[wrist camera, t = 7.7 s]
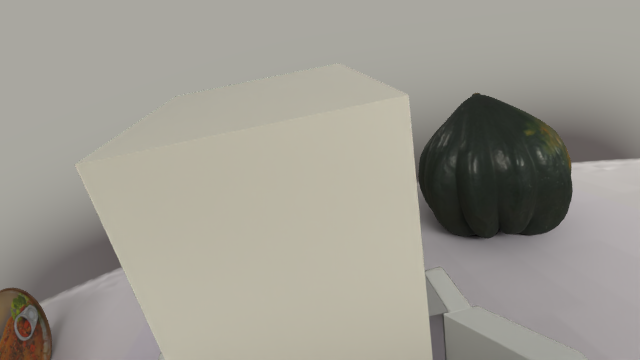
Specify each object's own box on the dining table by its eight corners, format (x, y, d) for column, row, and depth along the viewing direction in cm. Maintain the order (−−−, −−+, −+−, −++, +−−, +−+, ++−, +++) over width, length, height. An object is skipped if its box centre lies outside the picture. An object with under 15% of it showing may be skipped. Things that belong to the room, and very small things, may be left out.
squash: (574, 236, 29) (576, 65, 33) (392, 220, 37) (410, 84, 41) (568, 257, 41) (570, 130, 44) (430, 242, 49) (441, 135, 52)
